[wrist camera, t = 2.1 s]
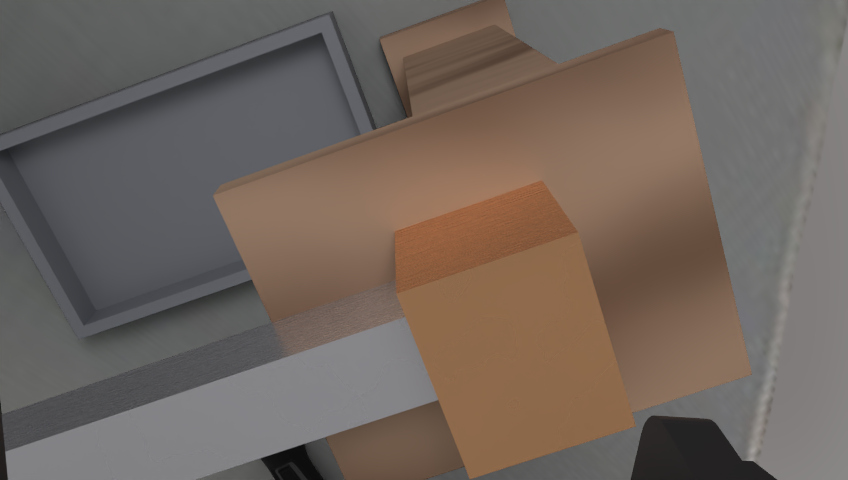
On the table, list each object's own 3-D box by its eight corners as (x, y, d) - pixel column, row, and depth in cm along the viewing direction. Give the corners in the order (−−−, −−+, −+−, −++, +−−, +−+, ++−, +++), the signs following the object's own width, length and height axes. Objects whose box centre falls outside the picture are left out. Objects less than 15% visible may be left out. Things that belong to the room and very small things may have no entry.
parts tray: (-8, 136, 51) (-31, 147, 48) (332, 11, 49) (329, 14, 46) (94, 320, 55) (78, 339, 53) (407, 211, 54) (408, 225, 51)
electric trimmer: (257, 360, 58) (250, 381, 55) (361, 511, 62) (359, 539, 59) (214, 382, 58) (204, 404, 55) (320, 531, 63) (316, 559, 60)
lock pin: (-24, 375, 21) (-113, 466, 17) (542, 180, 20) (578, 232, 16) (65, 517, 23) (2, 627, 19) (592, 344, 22) (636, 426, 18)
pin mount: (318, 51, 50) (213, 195, 20) (497, -15, 49) (673, 31, 19) (373, 193, 53) (355, 501, 23) (541, 134, 52) (751, 374, 22)
